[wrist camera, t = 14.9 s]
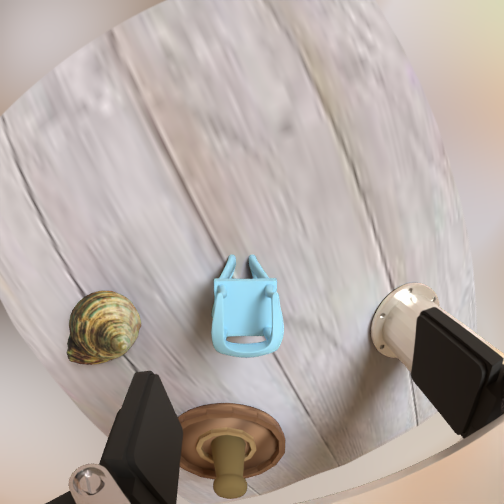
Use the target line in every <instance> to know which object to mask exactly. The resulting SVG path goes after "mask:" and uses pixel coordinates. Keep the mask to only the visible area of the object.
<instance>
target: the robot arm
mask: <svg viewBox="0 0 504 504" xmlns="http://www.w3.org/2000/svg"><path fill="white" fill-rule="evenodd" d="M371 337H372V341H373V344H374V346H375V347H376V348H377V350H378V351H379V352H380V353H381V354H383V355H385V356H387V357H391V358H399V360H400V361H401V362H402V363H403V364H404V365H405V367H406V368H407V369H408V370H409V371H410V372H411V376H412V379H413V381H414V382H415V384H416V385H417V386H418V387H419V388H420V390H421V391H422V392H423V393H424V394H425V396H426V397H427V398H428V399H429V401H430V402H431V403H432V404H433V405H434V407H435V408H436V409H437V410H438V412H439V413H440V414H441V415H442V417H443V418H444V419H445V420H446V422H447V423H448V424H449V425H450V427H451V428H452V429H453V430H454V432H455V433H456V434H458V435H460V434H461V436H462V438H461V439H460V440H459V441H458V442H457V443H456V444H454V445H452V446H451V447H449V448H447V449H445V450H443V451H441V452H439V453H437V454H435V455H433V456H431V457H429V458H427V459H425V460H423V461H421V462H419V463H417V464H415V465H412V466H410V467H408V468H405V469H403V470H401V471H398V472H396V473H394V474H391V475H389V476H386V477H384V478H381V479H378V480H376V481H373V482H370V483H367V484H364V485H361V486H358V487H355V488H352V489H349V490H346V491H343V492H339V493H336V494H333V495H329V496H325V497H321V498H317V499H313V500H309V501H305V502H300V503H295V504H504V354H503V353H502V352H501V351H499V350H498V349H497V348H495V347H494V346H493V345H491V344H490V343H489V342H487V341H486V340H484V339H483V338H482V337H481V336H479V335H478V334H477V333H475V332H474V331H472V330H471V329H470V328H468V327H467V326H466V325H464V324H463V323H462V322H460V321H459V320H457V319H456V318H455V317H453V316H452V315H451V314H449V313H448V312H446V311H445V310H443V309H442V308H441V307H439V300H438V297H437V295H436V293H435V292H434V291H433V290H432V289H431V288H430V287H428V286H427V285H424V284H422V283H408V284H405V285H403V286H401V287H399V288H397V289H395V290H394V291H393V292H392V293H390V294H389V295H388V296H387V297H386V298H385V299H384V300H383V302H382V303H381V305H380V306H379V308H378V309H377V311H376V313H375V316H374V318H373V321H372V327H371ZM182 441H183V429H182V426H181V424H180V422H179V419H178V417H177V415H176V413H175V411H174V409H173V407H172V404H171V402H170V400H169V398H168V396H167V393H166V391H165V389H164V386H163V384H162V382H161V379H160V377H159V375H157V374H154V373H153V372H152V371H144V372H136V373H135V374H134V376H133V379H132V382H131V384H130V387H129V389H128V392H127V395H126V397H125V400H124V402H123V405H122V408H121V409H120V410H119V411H118V413H117V416H116V418H115V421H114V424H113V426H112V429H111V432H110V435H109V437H108V440H107V443H106V446H105V449H104V452H103V454H102V457H101V460H100V463H99V464H86V465H83V466H81V467H79V468H78V469H76V470H75V471H74V472H73V473H72V475H71V477H70V479H69V489H70V491H68V492H67V493H65V494H63V495H61V496H59V497H57V498H55V499H53V500H52V501H50V502H48V503H46V504H176V500H177V489H178V478H179V468H180V459H181V450H182Z"/></svg>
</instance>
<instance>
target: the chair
mask: <svg viewBox="0 0 504 504" xmlns="http://www.w3.org/2000/svg"><path fill="white" fill-rule="evenodd" d="M235 265H236V258H235V256H234V255H230V256H229V257H228V261H227V264H226V266H225V268H224V270H223V272H222V274H221V276H220V277H219V279H215V278H214V304H213V308H212V318H213V322H212V332H211V334H212V342H213V346H214V348H215V350H216V351H218V352H219V353H222V354H225V355H230V356H235V357H245V358H249V357H257V356H262V355H266V354H269V353H272V352H274V351H276V350H277V349H278V348H279V346H280V344H281V342H282V339H283V334H284V324H283V317H282V312H281V307H280V301H279V294H278V293H276V291H277V280H276V278H269V277H268V276H267V275H266V273H265V272H264V270H263V269H262V267H261V266H260V264H259V263H258V261H257V260H256V257H255V255H250V256H249V266H250V270H251V273H252V276H253V279H231V277H232V275H233V272H234V269H235ZM229 336H265V338H266V341H263V342H259V343H252V344H238V343H231V342H228V341H226V338H227V337H229Z"/></svg>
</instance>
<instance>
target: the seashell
mask: <svg viewBox="0 0 504 504" xmlns="http://www.w3.org/2000/svg"><path fill="white" fill-rule="evenodd" d="M140 327H141V320H140V316H139V314H138V312H137V310H136V308H135V307H134V305H133V304H132V302H131V301H130V300H128V299H127V298H126V297H124V296H123V295H120V294H118V293H115V292H113V291H98V292H94V293H91V294H89V295H87V296H85V297H84V298H83V299H82V300H80V301H79V302H78V303H77V305H76V306H75V307H74V309H73V310H72V313H71V316H70V320H69V328H70V336H69V339H68V343H67V345H68V350H67V355H68V358H69V359H70V361H71V362H76V363H79V364H87V365H88V364H90V365H92V364H100V363H103V362H107V361H109V360H112V359H114V358H118V357H120V356H122V355H123V354H125V353H126V352H127V351H128V350H129V349H130V347H131V346H132V345H133V343H134V342H135V340H136V338H137V337H138V333H139V329H140Z"/></svg>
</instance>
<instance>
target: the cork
mask: <svg viewBox="0 0 504 504" xmlns="http://www.w3.org/2000/svg"><path fill="white" fill-rule="evenodd" d="M245 446H246V443H245V441H244V440H243V439H242V438H240V437H237V436H232V435H221V436H218V437H216V438H215V439H213V440H212V442H211V449H212V455H213V461H214V467H215V472H216V479H215V480H214V483H213V489H214V491H215V493H216V494H217V495H218V496H220V497H223V498H227V499H234V498H238V497H241V496H243V495H244V494H245V493H246V491H247V482H246V480H245V478H243V470H244V459H245Z"/></svg>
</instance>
